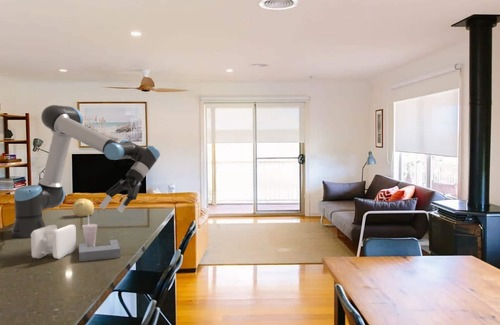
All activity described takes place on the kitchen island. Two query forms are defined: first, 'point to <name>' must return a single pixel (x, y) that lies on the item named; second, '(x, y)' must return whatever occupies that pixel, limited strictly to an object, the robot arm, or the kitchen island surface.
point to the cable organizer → (53, 241)
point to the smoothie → (90, 233)
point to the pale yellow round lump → (83, 207)
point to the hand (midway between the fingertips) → (110, 209)
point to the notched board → (99, 251)
